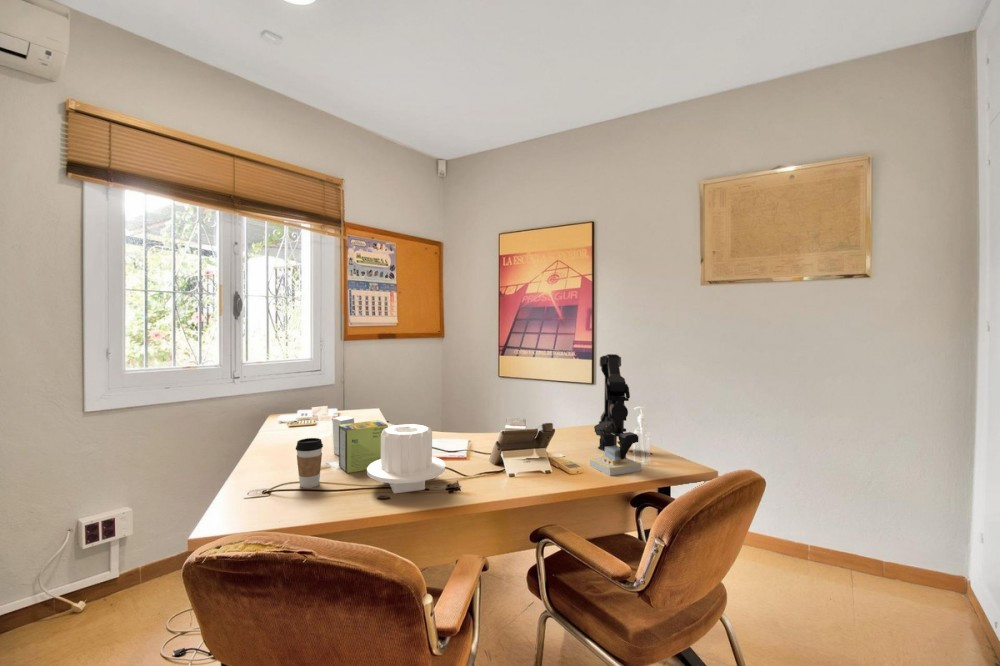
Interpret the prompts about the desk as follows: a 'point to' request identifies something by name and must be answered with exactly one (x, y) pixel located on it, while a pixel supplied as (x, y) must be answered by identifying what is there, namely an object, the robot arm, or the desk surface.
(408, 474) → the flanged gear
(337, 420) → the skincare box
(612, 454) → the pallet
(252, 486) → the desk surface
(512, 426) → the ink cartridge box
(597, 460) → the block
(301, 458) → the coffee cup
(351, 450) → the protein box
